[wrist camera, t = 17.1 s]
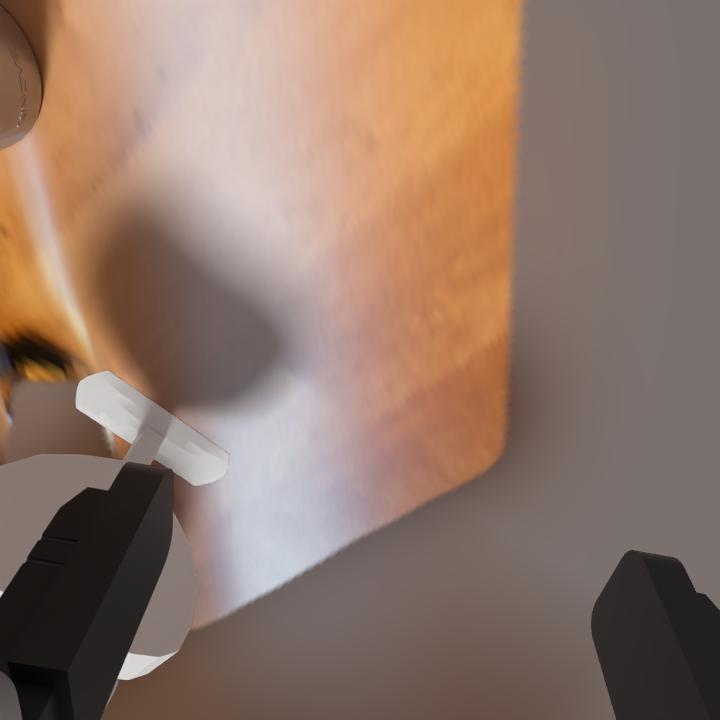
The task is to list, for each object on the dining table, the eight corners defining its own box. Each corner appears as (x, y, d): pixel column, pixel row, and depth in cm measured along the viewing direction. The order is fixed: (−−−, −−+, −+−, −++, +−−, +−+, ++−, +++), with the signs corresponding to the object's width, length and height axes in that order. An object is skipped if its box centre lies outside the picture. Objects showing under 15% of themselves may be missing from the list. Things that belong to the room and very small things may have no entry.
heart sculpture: (53, 393, 47) (-114, 585, 32) (85, 354, 45) (-79, 539, 30) (213, 498, 52) (134, 708, 37) (248, 467, 50) (180, 677, 35)
